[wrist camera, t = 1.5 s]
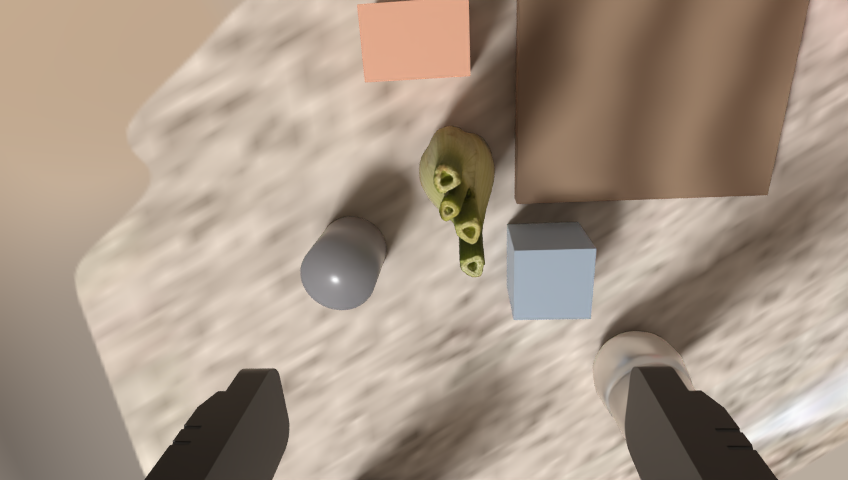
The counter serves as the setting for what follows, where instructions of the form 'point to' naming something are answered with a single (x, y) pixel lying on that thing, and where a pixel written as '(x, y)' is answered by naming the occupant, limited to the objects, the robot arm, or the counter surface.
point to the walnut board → (651, 97)
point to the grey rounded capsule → (344, 263)
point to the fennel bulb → (460, 188)
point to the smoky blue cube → (550, 271)
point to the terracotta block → (415, 39)
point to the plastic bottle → (619, 361)
